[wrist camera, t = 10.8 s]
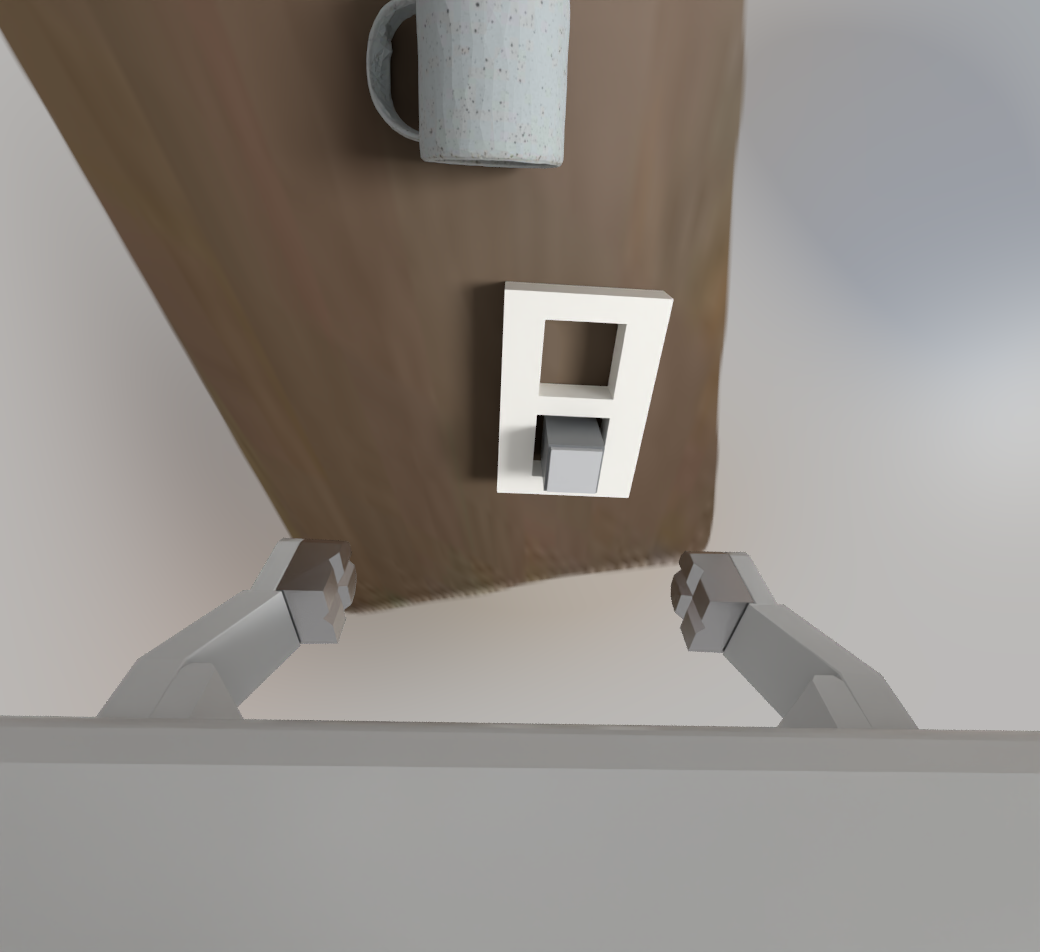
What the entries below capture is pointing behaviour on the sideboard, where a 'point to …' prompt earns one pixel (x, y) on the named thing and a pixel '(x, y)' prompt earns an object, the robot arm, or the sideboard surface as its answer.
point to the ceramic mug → (480, 79)
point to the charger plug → (571, 454)
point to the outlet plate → (615, 403)
